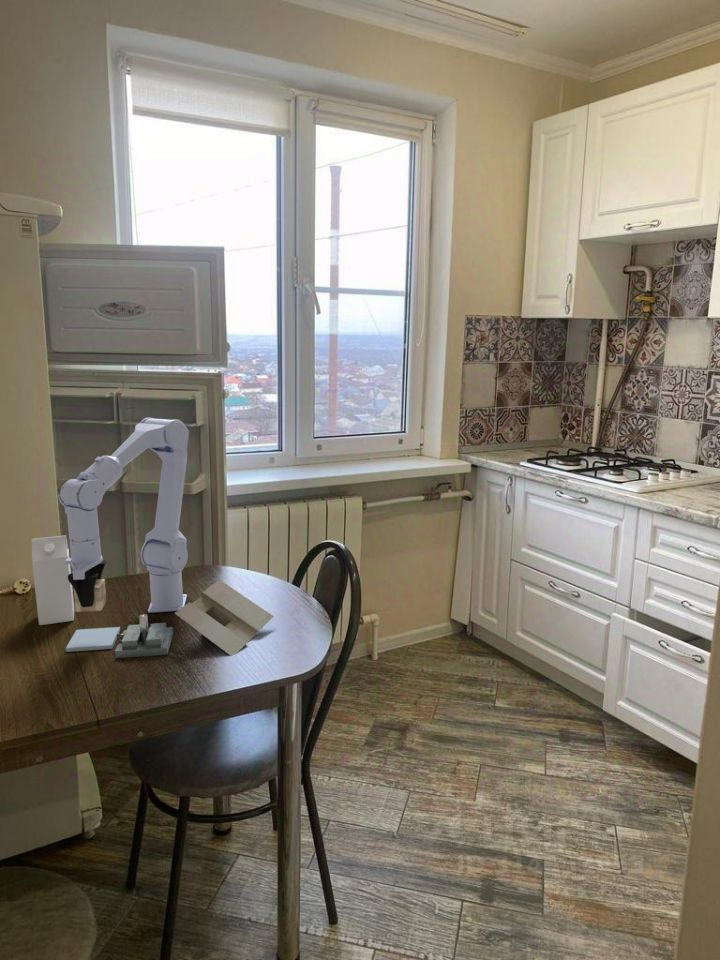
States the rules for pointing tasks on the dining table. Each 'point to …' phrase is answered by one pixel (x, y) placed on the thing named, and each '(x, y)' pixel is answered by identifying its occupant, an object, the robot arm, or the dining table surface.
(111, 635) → the mat
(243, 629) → the beige slotted board
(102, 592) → the wooden cube
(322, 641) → the dining table surface
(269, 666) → the dining table surface
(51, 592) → the milk carton
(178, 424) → the robot arm
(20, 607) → the dining table surface
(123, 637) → the vise
